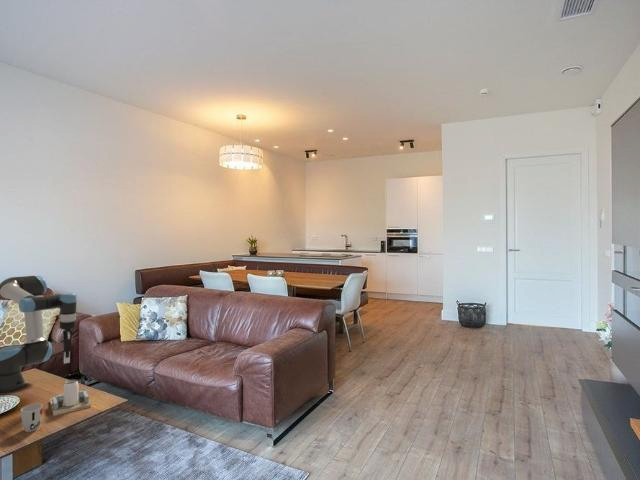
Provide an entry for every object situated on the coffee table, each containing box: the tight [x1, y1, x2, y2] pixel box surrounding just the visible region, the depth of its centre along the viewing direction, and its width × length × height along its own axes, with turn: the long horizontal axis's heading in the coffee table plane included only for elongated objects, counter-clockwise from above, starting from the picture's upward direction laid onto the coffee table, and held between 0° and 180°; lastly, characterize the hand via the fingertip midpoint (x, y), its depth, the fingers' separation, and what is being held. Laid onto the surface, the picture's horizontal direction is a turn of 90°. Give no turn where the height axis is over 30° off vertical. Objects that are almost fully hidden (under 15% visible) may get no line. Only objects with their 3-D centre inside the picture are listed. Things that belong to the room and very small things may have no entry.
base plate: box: [49, 396, 92, 417], centre depth 199 cm, size 20×16×4 cm
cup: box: [20, 403, 44, 433], centre depth 174 cm, size 8×8×10 cm
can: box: [63, 379, 79, 407], centre depth 196 cm, size 6×6×12 cm
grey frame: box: [51, 389, 90, 410], centre depth 198 cm, size 11×15×3 cm
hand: (66, 362), depth 210 cm, fingers closed
